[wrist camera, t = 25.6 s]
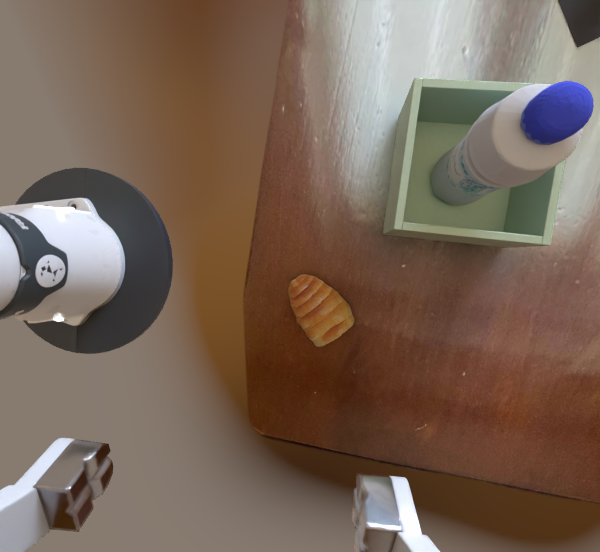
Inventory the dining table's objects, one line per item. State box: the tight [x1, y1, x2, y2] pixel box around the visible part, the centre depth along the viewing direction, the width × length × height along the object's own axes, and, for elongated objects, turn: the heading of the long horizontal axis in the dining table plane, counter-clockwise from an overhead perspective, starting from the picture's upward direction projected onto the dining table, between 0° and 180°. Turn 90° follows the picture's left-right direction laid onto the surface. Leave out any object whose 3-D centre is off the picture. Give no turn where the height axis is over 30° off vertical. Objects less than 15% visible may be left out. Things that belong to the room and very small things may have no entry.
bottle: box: [431, 81, 593, 206], centre depth 29 cm, size 7×7×20 cm
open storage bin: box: [383, 78, 566, 248], centre depth 35 cm, size 15×15×9 cm
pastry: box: [288, 274, 355, 347], centre depth 41 cm, size 9×7×4 cm
